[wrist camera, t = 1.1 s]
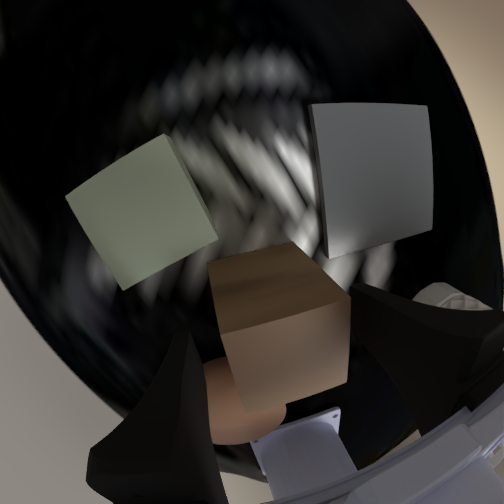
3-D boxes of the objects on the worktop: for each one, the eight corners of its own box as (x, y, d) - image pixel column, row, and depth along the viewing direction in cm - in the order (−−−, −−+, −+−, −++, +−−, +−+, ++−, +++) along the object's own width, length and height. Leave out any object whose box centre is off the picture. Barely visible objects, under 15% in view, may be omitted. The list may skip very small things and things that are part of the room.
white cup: (442, 254, 18) (544, 317, 9) (461, 306, 21) (533, 363, 12) (372, 332, 19) (458, 429, 9) (404, 368, 22) (467, 441, 12)
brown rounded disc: (277, 400, 19) (289, 430, 16) (200, 419, 18) (204, 451, 16) (267, 344, 17) (281, 377, 14) (172, 366, 16) (173, 402, 13)
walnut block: (300, 312, 16) (346, 382, 11) (225, 332, 16) (246, 414, 10) (292, 241, 15) (350, 297, 9) (206, 261, 14) (220, 334, 9)
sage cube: (210, 213, 13) (218, 239, 10) (138, 252, 13) (123, 290, 10) (171, 138, 12) (163, 133, 8) (98, 182, 12) (65, 196, 8)
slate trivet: (427, 227, 16) (432, 229, 16) (325, 255, 15) (329, 259, 15) (421, 106, 13) (427, 105, 13) (307, 105, 12) (311, 104, 12)
